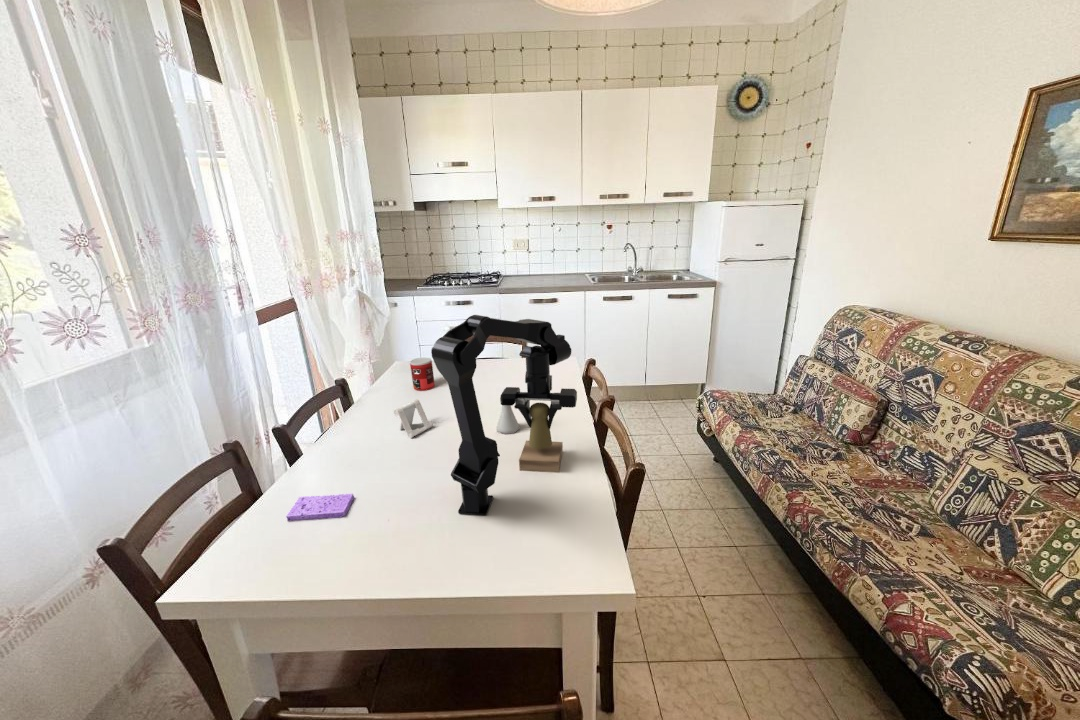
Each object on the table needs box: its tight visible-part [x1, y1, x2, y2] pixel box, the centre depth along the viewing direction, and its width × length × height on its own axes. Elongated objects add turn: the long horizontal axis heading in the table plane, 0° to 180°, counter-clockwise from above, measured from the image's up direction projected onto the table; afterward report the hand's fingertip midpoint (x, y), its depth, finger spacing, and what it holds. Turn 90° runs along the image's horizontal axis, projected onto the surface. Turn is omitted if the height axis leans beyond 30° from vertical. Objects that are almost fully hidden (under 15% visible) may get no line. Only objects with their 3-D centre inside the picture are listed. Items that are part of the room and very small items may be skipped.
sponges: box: [285, 493, 355, 522], centre depth 100 cm, size 7×13×2 cm, turn 94°
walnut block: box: [518, 440, 564, 473], centre depth 115 cm, size 10×10×3 cm
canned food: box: [409, 357, 435, 392], centre depth 167 cm, size 8×8×11 cm
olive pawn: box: [528, 402, 553, 449], centre depth 112 cm, size 6×6×11 cm
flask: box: [496, 405, 520, 435], centre depth 132 cm, size 7×7×10 cm
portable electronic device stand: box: [393, 399, 434, 439], centre depth 134 cm, size 9×8×8 cm
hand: (540, 427), depth 112 cm, fingers closed on olive pawn, 4 cm apart
